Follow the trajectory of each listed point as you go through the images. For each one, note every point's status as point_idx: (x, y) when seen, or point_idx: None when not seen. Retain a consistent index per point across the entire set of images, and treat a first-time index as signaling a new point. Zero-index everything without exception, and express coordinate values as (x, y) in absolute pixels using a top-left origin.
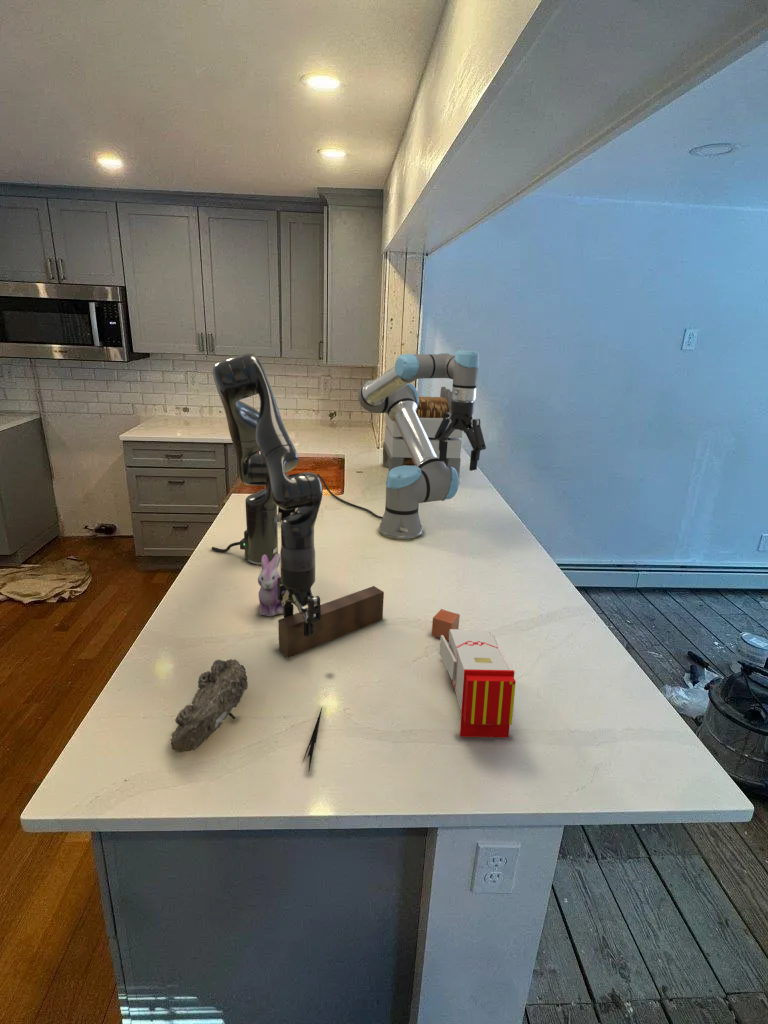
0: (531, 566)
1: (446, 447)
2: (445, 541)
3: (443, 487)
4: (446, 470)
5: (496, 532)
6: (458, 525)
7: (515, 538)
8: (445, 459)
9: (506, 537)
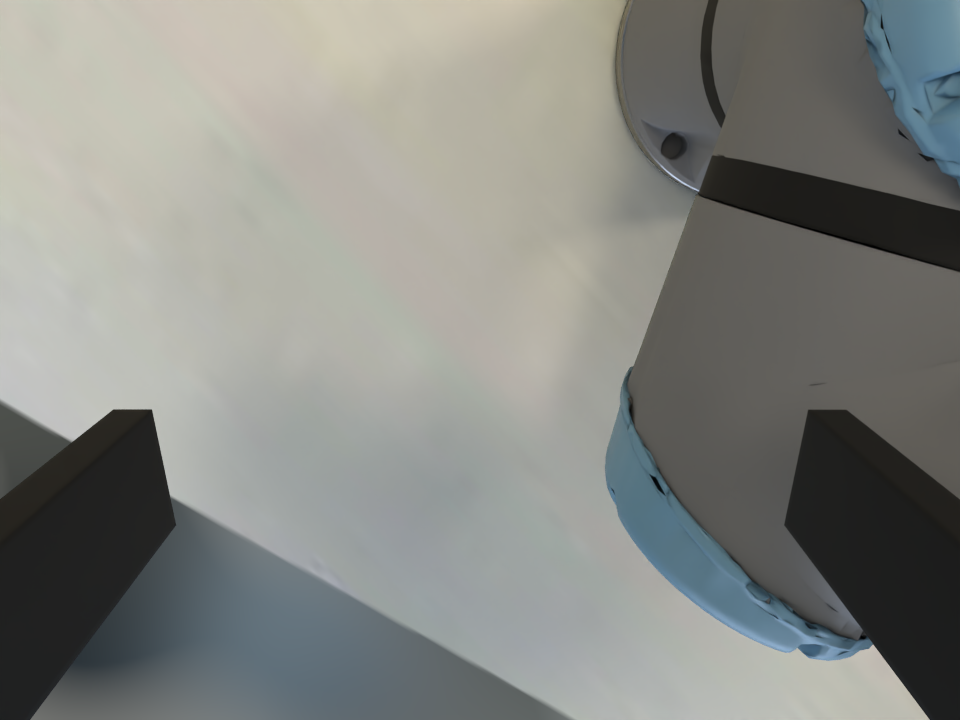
0: (4, 318)
1: (933, 699)
2: (479, 192)
3: (657, 351)
4: (782, 531)
5: (410, 504)
6: (596, 425)
7: (305, 517)
8: (794, 521)
9: (337, 494)
